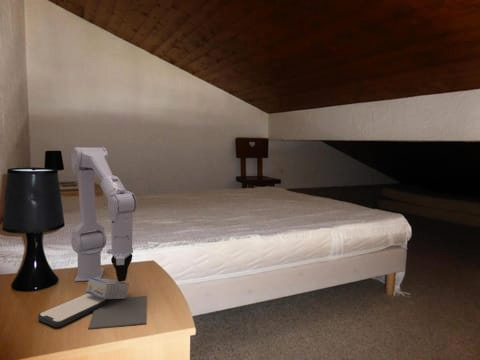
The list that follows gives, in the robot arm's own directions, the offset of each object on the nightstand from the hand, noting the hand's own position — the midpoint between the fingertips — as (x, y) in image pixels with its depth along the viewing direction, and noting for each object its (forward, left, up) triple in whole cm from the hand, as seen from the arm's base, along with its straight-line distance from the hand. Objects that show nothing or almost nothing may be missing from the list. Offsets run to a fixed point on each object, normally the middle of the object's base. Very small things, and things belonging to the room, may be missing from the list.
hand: (121, 280), depth 104 cm
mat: (+7, 0, -6) cm, 9 cm away
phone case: (+5, -12, -6) cm, 14 cm away
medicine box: (-4, -1, -4) cm, 6 cm away
